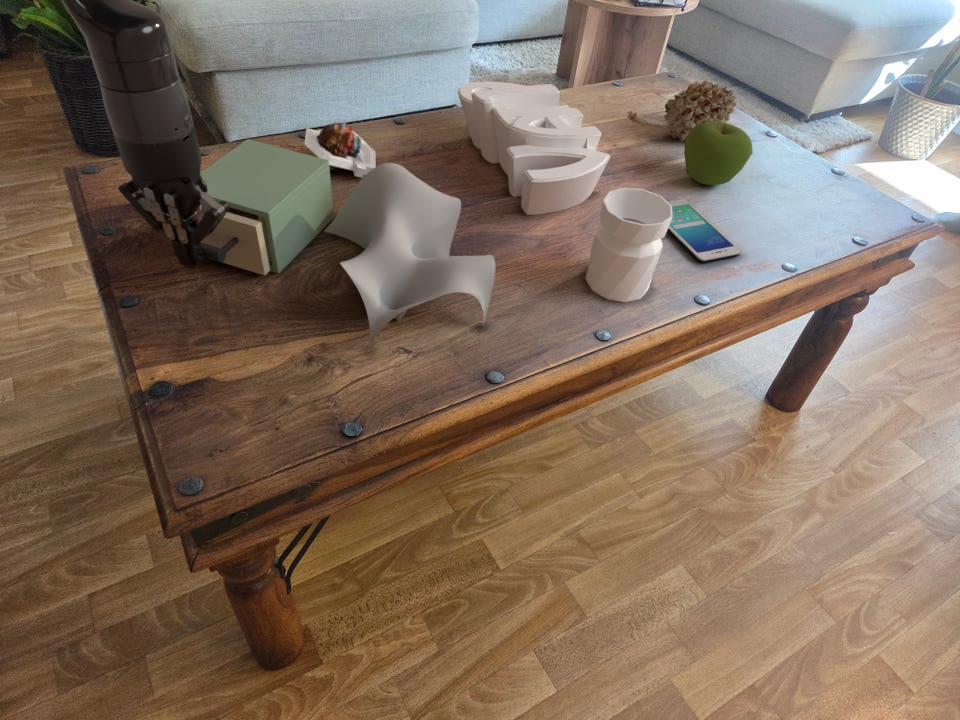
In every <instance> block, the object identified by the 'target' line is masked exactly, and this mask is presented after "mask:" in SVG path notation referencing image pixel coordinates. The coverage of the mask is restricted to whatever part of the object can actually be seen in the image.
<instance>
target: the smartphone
mask: <svg viewBox="0 0 960 720" xmlns="http://www.w3.org/2000/svg"><path fill="white" fill-rule="evenodd" d="M667 202H668V203H669V204H670V205H671V206H672V214H673V217H672V220H671V222H670V225H669V227H668V230H667V232H666V233H668V234H669V235H670V236H671V237H672V238H673V239H674V240H675V241H676V242H677V243H678V244H679V245H680V246H681V247H682V248H683V249H684V250H685V251H686V252H687V253H688V254H689V255H690V256H691V257H692V258H693V259H694V260H695V261H696V262H698V263H700V264H706V263H712V262H717V261H722V260H727V259H731V258H733V259H734V258H738V257H739V256H740V255H741V249H740V248H739V246H738V245H736V244H735V243H734V242H733V241H732V240H731V239H729V237H727V236H726V235H725V234H724V233H723V232H722V231H720V230H719V228H718V227H716V225H714V224H713V223H712V222H711V221H709V219H707V218H706V217H705V216H704V215H703V214H702V213H701V212H700V211H699V210H697V209H696V208H695V207H694V206H693V205H692V204H691V203H690V202H689V201H688V200H686V199H675V200H669V201H667Z"/></svg>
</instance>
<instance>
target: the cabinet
mask: <svg viewBox="0 0 960 720" xmlns="http://www.w3.org/2000/svg"><path fill="white" fill-rule="evenodd" d="M200 175H201V177H202V179H203V180H204V182H205V183H206V185H207V188H208V192H207V193H208V194H209V195H210V196H211V197H212V198H213V199H214V200H215V201H216V202H218V203H219V202H220V201H225V202H227V204H228V205H229V207H230V208H234V209H237V210H241V211H244V212H248V213H251V214H255V215H258V216H262V217H264V221H265V227H266V232H267V238H268V244H269V249H270V255H271V261H268V262H269V267H270V271H269V272H272V273H273V274H274V273H275V274H278V275H280V273H281V272H282V271H283V270H284V269H286V268H287V266H288V265H290V263H291V262H292V261H293V260H294V259H295V258H296V257H297V256H299V254H301V252H302V251H303V250H304V249H306V247H307V246H308V245H309V244H310V243H311V242H312V241H313V240H314V239H315V238H316V237H317V236H318V235H319V234H320V233H321V232H322V230H324V229H325V228H326V227H327V226H328V225H329V223H331V222H332V221H333V220H334V219H335V216H334V215H335V214H334V205H333V194H332V193H333V192H332V180H331V171H330V169H329V160H325V159H321V158H318V157H317V156H315V155H309V154H306V153H302V152H299V151H295V150H291V149H287V148H283V147H280V146H276V145H273V144H268V143H265V142H260V141H257V140H253V139H249V138H247V139H246V140H244V141H243V142H241V143H240V144H239V145H237V146H236V147H233V148H232V149H231V150H230V151H228V152H227V153H225V154H224V155H223V156H222V157H220V158H219V159H217V160H216V161H215V162H213V163H212V164H210V165H209V166H207V167H206V168H205V169H203V170H202V171H200Z"/></svg>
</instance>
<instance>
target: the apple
mask: <svg viewBox="0 0 960 720" xmlns="http://www.w3.org/2000/svg"><path fill="white" fill-rule="evenodd" d="M683 153H684V162H685V163H684V164H685V170H686V173H687V174H688V175H689V176H690V177H691V178H692V179H693V180H694V181H695V182H697V183H699V184H701V185H704V186H709V187H711V186H712V187H713V186H720V185H725V184H726V183H727V184H728V183H729V182H730V181H731V180H732V179H734V178H735V177H736V176H737V175H738V174H739V173H740V172H741V171H742V170H743V168H744V167H745V166H746V164H747V162H748V161H749V159H750V158H751V156H752V155H753V153H754V152H753V142H752V140H751V137H750V136H749V135H748V134H747V132H745V130H743V129H742V128H740V127H738V126H737V125H736V126H735V125H733V124H730V123H728V122H726V123H725V122H719V121H710V122H706V123H703V124H700V125H697V126H695V127H694V128H693V129H692V130H691V131H690V132H689V134H688V135H687V137H686V138H685V140H684V151H683Z"/></svg>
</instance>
